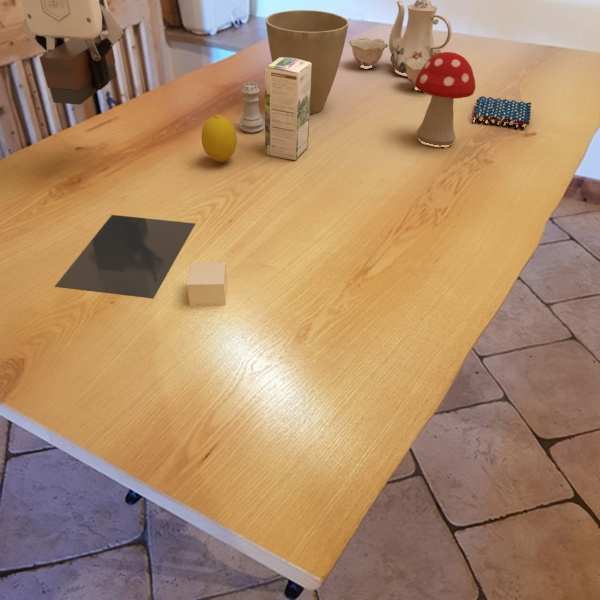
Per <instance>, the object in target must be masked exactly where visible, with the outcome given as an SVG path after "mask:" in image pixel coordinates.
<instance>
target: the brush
mask: <svg viewBox="0 0 600 600" xmlns="http://www.w3.org/2000/svg"><path fill="white" fill-rule="evenodd" d="M101 34H102V37H103V39H105V38H106V37H107V36H108V34H107V33H101ZM105 57H106V62H107V67H108V72H109V83H110V82H112V81H113V80H114V79H115V78H117V72H116V66H115V64H116V59H115V54H114V49H113V47H112V48H111V49H110V50H109V52H108V54H107V55H106V56H105ZM39 60H40V64H41V67H42V68H41V69H42V72H43V76H44V79H45V82H46V85H47V88H48V89H49V91H50V95H51V99H52V102H53V103H54V104H55V103H56V104H67V105H77V106H78V105H80V106H81V105H82V104H83V103H85V102H86V101H87V100H88V99H90V98H91V97H92V96H94V95H95V94H96V93H98V91H99V90H97V89H95V87H94V82H93V77H92V72H91V68H90V61H91V60H92V57H91V54H90V52H89V49H88V47H87V45H86V42H85V40H84V39H72V38H69V39H67V41H65V43H63V44H61V45H60V46H58V47H56V48H55V49H53V50H51V51H49V52H48V53H47V52H46V53H44V54H42V55H41V56H39Z"/></svg>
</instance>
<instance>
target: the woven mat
mask: <svg viewBox="0 0 600 600" xmlns="http://www.w3.org/2000/svg"><path fill="white" fill-rule="evenodd" d="M476 102H477V103H476ZM476 102H475V103H474V108H473V112H472V114H471V118H474V117H475V119H477V120H478V119H479V120H481V122H483V121H482V120H484V121H485V120H489V121H490V123H491V122H494V123H495V122H497V121H500V122H501V123H503V122H510V123H512V124H513V123H514V122H515V121H517V122H515V123H518V124H519V125H522V124H523V125H525V126H526V127H527V126H530V120H531V116H532V115H531V112H532V111H531V110H532V102H530V101H529V102H526V101H523V100H522V101H516V100H515V99H513V100H511V99H507V98H500V97H498V98H496V97H495V98H493V97H492V96H484V95H481V96H478V98H476ZM475 104H476V105H477V106H476V105H475ZM530 108H531V109H530ZM509 109H510V110H509ZM519 115H520V116H519ZM497 117H498V118H497ZM522 117H523V118H522ZM502 119H503V120H502ZM479 120H478V121H479ZM507 120H510V121H507Z"/></svg>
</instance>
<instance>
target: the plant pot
mask: <svg viewBox="0 0 600 600" xmlns="http://www.w3.org/2000/svg"><path fill="white" fill-rule="evenodd" d="M349 23H350V22H349V20H348V19H347V18H345V17H344V16H342V15H339V14H336V13H334V12H333V13H332V12H328V11H322V10H314V9H313V10H312V9H295V10H294V9H293V10H284V11H279V12H274V13H272V14H270V15H268V16H267V17H266V18H265V26H266V32H267V40H268V47H269V53H270V58H271V62H274V61H275V60H277V59H278V58H279V57H286V58H295V59H300V60H304V61H307V62H310V63H312V67H311V90H310V113H309V115H314V114H318V113H320V112H321V111H322V110H323V109H324V106H325V104H326V103H327V99H328V98H329V95H330V92H331V90H332V87H333V84H334V83H335V79H336V75H337V73H338V69H339V66H340V63H341V59H342V55H343V51H344V47H345V43H346V39H347V33H348V27H349V25H350V24H349Z"/></svg>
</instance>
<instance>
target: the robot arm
mask: <svg viewBox="0 0 600 600" xmlns="http://www.w3.org/2000/svg"><path fill="white" fill-rule="evenodd" d="M21 4H22V9H23V12H24V16H25V18H24V20H23V24H22V26H21V29H22V31H23V32H24V34H26V35H27V36H29V37H31V38H32V39H33V40H35V41H36V43H37V44H39V46H41V47H42V48H43V49H44V50H45V51H46V53H48V52H49V51H51V50H53V49H55V48H56V47H58V46H60V45H61V44H63V43H65V42H66V40H65V39H84V40H85V42H86V45H87V47H88V49H89V52H90V54H91V57H92V60H91V61H90V68H91V72H92V77H93V82H94V87H95V89H97V90H98V91H101V90H103V89H104V88H105V87H106V86H108V85H109V83H110V82H109V72H108V67H107V62H106V57H105V56H106V55H107V54H108V52H109V50H110V49H111V48H113V47H114V46H115V44H116V43H117V42H119V41H120V40H121V39H122V38H123V37H124V36H125V32H124V30H123V29H122V28H121V26H120V25H119V23H118V22H117V21H116V20H115V18H114V17H113V16H112V15H111V13H110V10H109V6H108V1H107V0H21ZM106 31H107V33H108V36H107V37H106V38H105V39H103V37H102V34H103V33H102V32H106Z"/></svg>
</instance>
